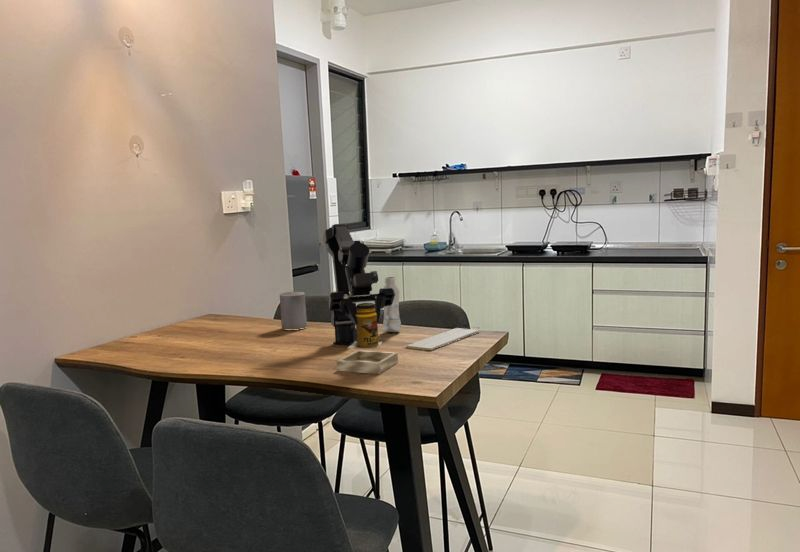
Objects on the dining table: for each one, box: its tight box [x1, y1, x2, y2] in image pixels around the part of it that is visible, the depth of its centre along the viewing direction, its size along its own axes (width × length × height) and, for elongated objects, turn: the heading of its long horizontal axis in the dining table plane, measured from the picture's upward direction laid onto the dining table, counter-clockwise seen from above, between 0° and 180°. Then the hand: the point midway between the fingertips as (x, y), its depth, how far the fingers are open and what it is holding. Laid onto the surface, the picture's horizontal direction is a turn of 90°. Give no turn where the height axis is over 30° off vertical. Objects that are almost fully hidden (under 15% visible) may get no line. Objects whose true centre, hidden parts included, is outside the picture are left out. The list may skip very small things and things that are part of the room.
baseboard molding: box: [403, 324, 480, 351], centre depth 200 cm, size 31×3×12 cm
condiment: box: [347, 302, 383, 350], centre depth 167 cm, size 7×8×12 cm
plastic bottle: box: [382, 276, 402, 333], centre depth 214 cm, size 6×7×20 cm
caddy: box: [336, 349, 399, 375], centre depth 169 cm, size 13×13×3 cm
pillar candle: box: [279, 290, 308, 330], centre depth 229 cm, size 10×10×15 cm
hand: (367, 323), depth 166 cm, fingers closed on condiment, 6 cm apart
